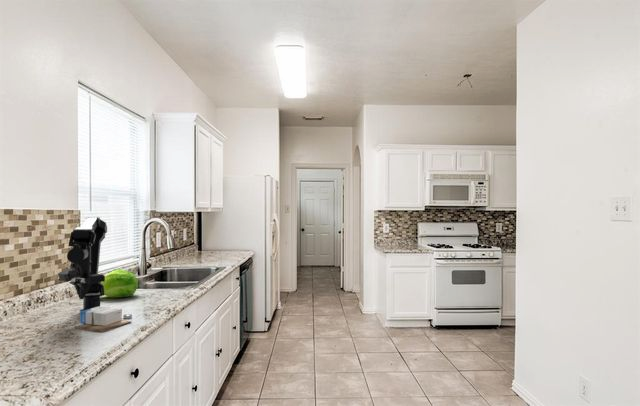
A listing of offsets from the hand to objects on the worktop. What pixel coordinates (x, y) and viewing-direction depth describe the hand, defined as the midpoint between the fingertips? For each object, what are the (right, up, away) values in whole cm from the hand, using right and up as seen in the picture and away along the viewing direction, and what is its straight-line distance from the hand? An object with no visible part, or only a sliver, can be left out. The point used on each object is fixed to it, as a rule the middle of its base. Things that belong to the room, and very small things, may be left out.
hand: (81, 299), depth 149 cm
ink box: (+4, -6, -2) cm, 7 cm away
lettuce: (-11, -10, +42) cm, 45 cm away
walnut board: (+12, -9, -5) cm, 15 cm away
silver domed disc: (+16, -9, +5) cm, 19 cm away
